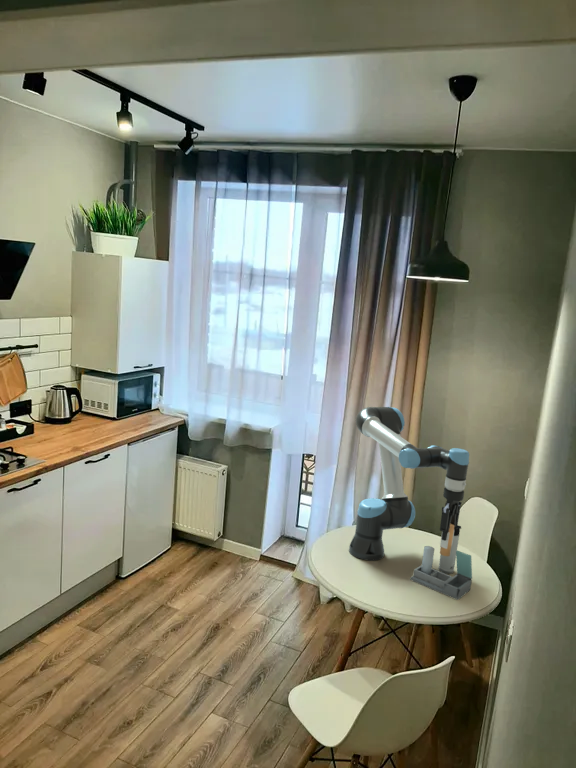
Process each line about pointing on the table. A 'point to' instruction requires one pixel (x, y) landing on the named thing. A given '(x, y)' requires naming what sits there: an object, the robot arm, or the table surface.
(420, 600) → the table surface
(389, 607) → the table surface
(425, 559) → the ball
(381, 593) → the table surface
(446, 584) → the housing
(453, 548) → the travel mug
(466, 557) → the lid
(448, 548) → the orange capsule
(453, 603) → the table surface
